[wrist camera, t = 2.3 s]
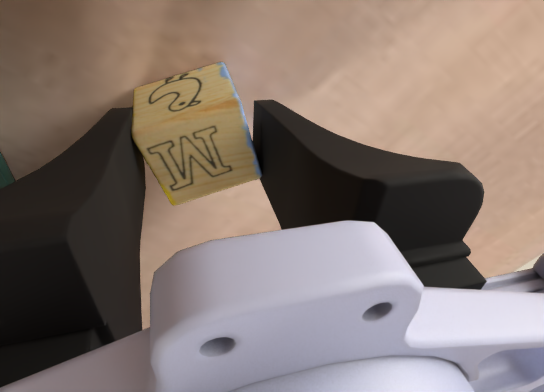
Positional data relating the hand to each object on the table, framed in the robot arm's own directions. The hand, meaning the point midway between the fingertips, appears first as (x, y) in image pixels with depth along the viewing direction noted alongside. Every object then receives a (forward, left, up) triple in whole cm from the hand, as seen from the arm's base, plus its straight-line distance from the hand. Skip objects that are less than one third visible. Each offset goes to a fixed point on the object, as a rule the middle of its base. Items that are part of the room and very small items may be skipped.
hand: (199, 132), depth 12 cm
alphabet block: (0, 0, -2) cm, 2 cm away
